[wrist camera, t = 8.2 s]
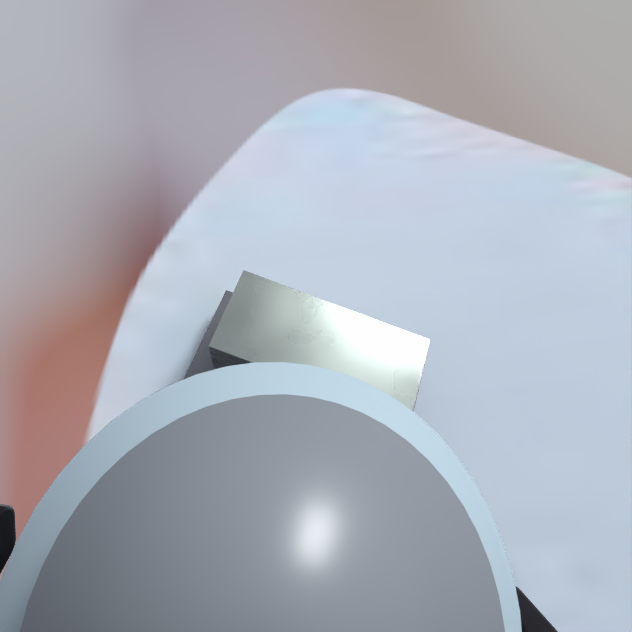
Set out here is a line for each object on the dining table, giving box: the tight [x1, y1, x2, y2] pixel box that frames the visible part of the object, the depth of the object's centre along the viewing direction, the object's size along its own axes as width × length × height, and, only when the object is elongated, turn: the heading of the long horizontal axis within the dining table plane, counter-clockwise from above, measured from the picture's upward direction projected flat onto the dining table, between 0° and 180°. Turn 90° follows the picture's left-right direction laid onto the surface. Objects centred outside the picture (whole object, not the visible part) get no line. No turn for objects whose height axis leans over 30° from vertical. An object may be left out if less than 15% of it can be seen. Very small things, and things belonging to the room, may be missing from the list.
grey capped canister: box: [0, 362, 522, 632], centre depth 10 cm, size 5×5×13 cm
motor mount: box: [185, 271, 430, 411], centre depth 15 cm, size 16×9×4 cm, turn 161°
